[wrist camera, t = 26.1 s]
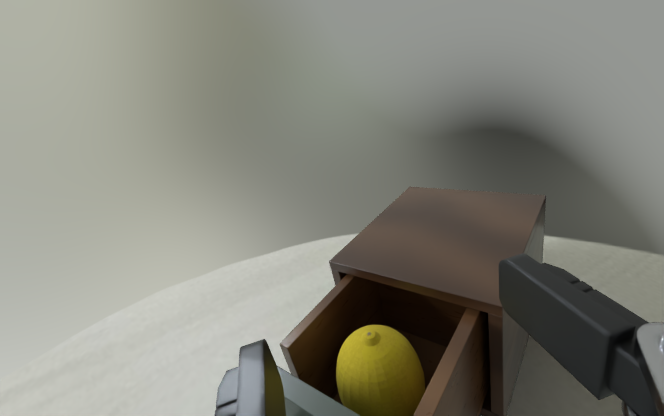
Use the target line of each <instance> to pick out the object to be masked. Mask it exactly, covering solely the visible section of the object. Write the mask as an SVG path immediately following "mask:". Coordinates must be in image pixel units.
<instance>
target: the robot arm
mask: <svg viewBox="0 0 664 416" xmlns="http://www.w3.org/2000/svg"><path fill="white" fill-rule="evenodd" d="M499 299H500V302H501V305H502V307H503V308H504V310H505V311H506V313H507V314H508V315H509V316H510V317H511V318H512V319H513V320H514V321H515V322H516V323H518V324H519V325H520V326H521V327H522V328H523V329H524V330H525V331H526V332H527V333H528V334H529V335H530V336H531V337H532V338H533V339H535V340H536V341H537V342H538V343H539V344H540V345H541V346H542V347H543V348H544V349H545V350H546V351H547V352H548V353H549V354H550V355H552V356H553V357H554V358H555V359H556V360H557V361H558V362H559V363H560V364H561V365H562V366H563V367H564V368H565V369H566V370H567V371H569V372H570V373H571V374H572V375H573V376H574V377H575V378H576V379H577V380H578V381H579V382H580V383H581V384H582V385H583V386H584V387H586V388H587V389H588V390H589V391H590V392H591V393H592V394H593V395H594V396H595V397H596V398H597V399H598V400H600V399H603V398H605V397H608V396H610V395H613V394H616V395H617V396H618V397H619V398H620V399H621V400H622V411H623V415H624V416H664V323H663V322H653V323H649V322H647V321H645V320H644V319H642V318H640V317H639V316H637V315H636V314H634V313H632V312H631V311H629V310H628V309H626V308H624V307H623V306H621V305H620V304H618V303H616V302H615V301H613V300H612V299H610V298H608V297H607V296H605V295H604V294H602V293H600V292H599V291H597V290H593V288H592V287H591V286H589V285H588V284H586V283H584V282H583V281H580V280H579V279H578V278H576V277H575V276H573V275H572V274H570V273H568V272H567V271H565V270H564V269H561V268H558V267H555V266H552V265H549V264H546V263H543V264H541V263H539V262H537V261H536V260H534V259H533V258H531V257H530V256H528V255H526V254H519V255H516V256H513V257H510V258H507V259H504V260H501V261H500V262H499ZM215 416H286V408H285V397H284V389H283V384H282V380H281V376H280V373H279V371H278V368H277V366H276V363H275V361H274V358H273V356H272V354H271V351H270V349H269V346H268V344H267V342H266V340H265V339H263V340H260V341H257V342H254V343H251V344H248V345H245V346H242V347H241V348H240V354H239V367H236V368H234V369H231V370H228V371H226V373H225V375H224V377H223V379H222V381H221V383H220V385H219V387H218V393H217V401H216V410H215Z"/></svg>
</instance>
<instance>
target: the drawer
mask: <svg viewBox="0 0 664 416" xmlns="http://www.w3.org/2000/svg"><path fill="white" fill-rule="evenodd" d="M368 325H383V326H387V327H390V328H392V329H394V330H397V331H398V332H399V333H401V334H402V335H403V336H404V337H405V338H406V339H407V340H408V341H409V343H410V344H411V345H412V347H413V348H414V350H415V351H416V353H417V355H418V358H419V360H420V363H421V366H422V369H423V372H424V378H425V393H424V395H423V397H422V399H421V401H420V403H419V405H418V407H417V409H416V411H415V413H414V416H479V415H480V412H481V409H482V406H483V403H484V400H485V397H486V394H487V391H488V388H489V386H490V359H489V328H488V313H486V312H483V311H479V310H475V309H472V308H468V307H465V306H461V305H458V304H454V303H450V302H447V301H443V300H440V299H436V298H432V297H429V296H425V295H422V294H418V293H414V292H411V291H407V290H404V289H400V288H397V287H393V286H389V285H386V284H382V283H379V282H375V281H371V280H368V279H364V278H361V277H357V276H354V275H350V274H347V275H346V276H345V277H344V278H343V279H342V280H341V281H340V282H339V283H338V284H337V285H336V286H335V287H334V288H333V289H332V290H331V291H330V292H329V293H328V294H327V295H326V296H325V297H324V298H323V299H322V300H321V302H320V303H319V304H318V305H317V306H316V307H315V308H314V309H313V310H312V311H311V312H310V313H309V314H308V315H307V316H306V317H305V318H304V319H303V320H302V321H301V322H300V323H299V324H298V325H297V326H296V327H295V328H294V329H293V330H292V331H291V332H290V333H289V335H288V336H287V337H286V338H285V339H284V340H283V341H282V342H281V343H280V346H281V349H282V352H283V354H284V357H285V359H286V362H287V364H288V367H289V369H290V372H291V374H290V373H288V372H287V371H285V370H283V369H282V368H280V367H278V366H277V365H276V366H277V368H278V371H279V373H280V376H281V380H282V384H283V389H284V397H285V408H286V416H360V415H359V414H357V413H355V412H354V411H352V410H350V409H349V408H347V407H345V406H344V405H343V404H342V402H341V399H340V396H339V392H338V387H337V381H336V367H337V358H338V354H339V352H340V349H341V346H342V345H343V343H344V342H345V340H346V339H347V338H348V337H349V336H350V335H351V334H352V333H353V332H354V331H356V330H358V329H359V328H362V327H364V326H368Z"/></svg>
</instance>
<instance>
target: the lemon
mask: <svg viewBox="0 0 664 416" xmlns="http://www.w3.org/2000/svg"><path fill="white" fill-rule="evenodd" d="M336 381H337V387H338V392H339V396H340V399H341V402H342V404H343V405H344V406H345V407H347V408H349V409H350V410H352V411H354V412H355V413H357V414H359V415H360V416H414V413H415V411H416V409H417V407H418V405H419V403H420V401H421V399H422V397H423V395H424V393H425V378H424V372H423V369H422V366H421V363H420V360H419V358H418V355H417V353H416V351H415V350H414V348H413V347H412V345H411V344H410V343H409V341H408V340H407V339H406V338H405V337H404V336H403V335H402V334H401V333H399V332H398V331H397V330H394V329H392V328H390V327H387V326H383V325H368V326H364V327H362V328H359V329H358V330H356V331H354V332H353V333H352V334H351V335H350V336H349V337H348V338H347V339H346V340H345V342H344V343H343V345H342V346H341V349H340V352H339V354H338V358H337V367H336Z"/></svg>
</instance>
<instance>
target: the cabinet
mask: <svg viewBox="0 0 664 416" xmlns="http://www.w3.org/2000/svg"><path fill="white" fill-rule="evenodd" d="M545 203H546V196H545V195H532V194H516V193H500V192H484V191H467V190H452V189H436V188H420V187H409V188H408V189H407V190H406V191H405V192H404V193H402V194H401V195H400V196H399V197H398V198H397V199H396V200H395V201H394V202H393V203H392V204H391V205H389V206H388V207H387V208H386V209H385V210H384V211H383V212H382V213H381V214H380V215H379V216H378V217H377V218H375V219H374V220H373V221H372V222H371V223H370V224H369V225H368V226H367V227H366V228H365V229H364V230H362V232H360V233H359V234H358V235H357V236H356V237H355V238H354V239H353V240H352V241H351V242H350V243H348V244H347V245H346V246H345V247H344V248H343V249H342V250H341V251H340V252H339V253H338V254H337V255H335V256H334V257H333V258H332V259H331V260H330V261H329V263H330V267H331V269H332V274H333V278H334V281H335V285H337V284H338V283H339V282H340V281H341V280H342V279H343V278H344V277H345V276H346V275H347V274H350V275H354V276H357V277H361V278H364V279H368V280H371V281H375V282H379V283H382V284H386V285H389V286H393V287H397V288H400V289H404V290H407V291H411V292H414V293H418V294H422V295H425V296H429V297H432V298H436V299H440V300H443V301H447V302H450V303H454V304H458V305H461V306H465V307H468V308H472V309H475V310H479V311H483V312H486V313H488V328H489V359H490V386H489V388H488V391H487V394H486V397H485V400H484V403H483V406H482V409H481V412H480V414H482V415H484V416H506V415H507V411H508V408H509V404H510V401H511V397H512V393H513V390H514V386H515V383H516V379H517V376H518V372H519V369H520V365H521V361H522V358H523V354H524V351H525V347H526V344H527V340H528V337H529V334H528V333H527V332H526V331H525V330H524V329H523V328H522V327H521V326H520V325H519V324H518V323H516V322H515V321H514V320H513V319H512V318H511V317H510V316H509V315H508V314H507V313H506V311H505V310H504V308H503V307H502V305H501V302H500V299H499V262H500V261H501V260H504V259H507V258H510V257H513V256H516V255H519V254H526V255H528V256H530V257H531V258H533V259H534V260H536V261H537V262H539V263H541V264H542V261H543V242H544V221H545Z"/></svg>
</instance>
